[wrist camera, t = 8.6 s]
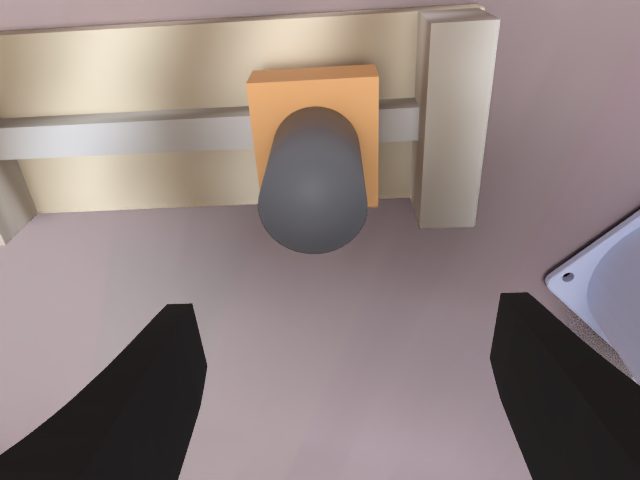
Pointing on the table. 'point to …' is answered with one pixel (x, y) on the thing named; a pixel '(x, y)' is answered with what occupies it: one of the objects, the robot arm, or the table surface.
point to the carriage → (315, 152)
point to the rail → (234, 108)
